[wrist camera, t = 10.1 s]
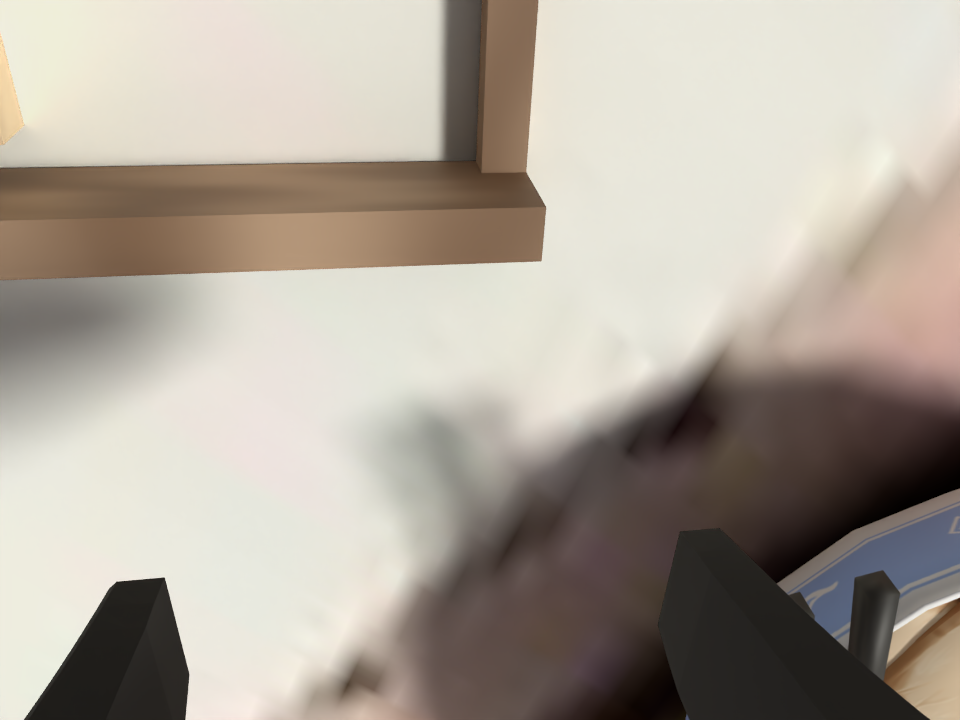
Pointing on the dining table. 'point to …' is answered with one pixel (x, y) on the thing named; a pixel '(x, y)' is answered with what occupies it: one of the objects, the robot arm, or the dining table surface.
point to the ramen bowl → (895, 601)
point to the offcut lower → (8, 101)
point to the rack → (296, 199)
